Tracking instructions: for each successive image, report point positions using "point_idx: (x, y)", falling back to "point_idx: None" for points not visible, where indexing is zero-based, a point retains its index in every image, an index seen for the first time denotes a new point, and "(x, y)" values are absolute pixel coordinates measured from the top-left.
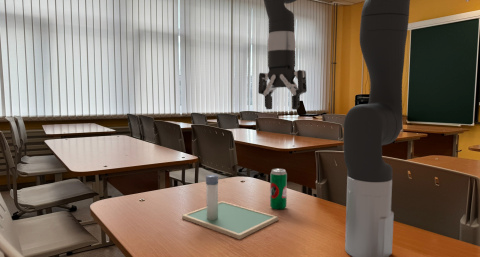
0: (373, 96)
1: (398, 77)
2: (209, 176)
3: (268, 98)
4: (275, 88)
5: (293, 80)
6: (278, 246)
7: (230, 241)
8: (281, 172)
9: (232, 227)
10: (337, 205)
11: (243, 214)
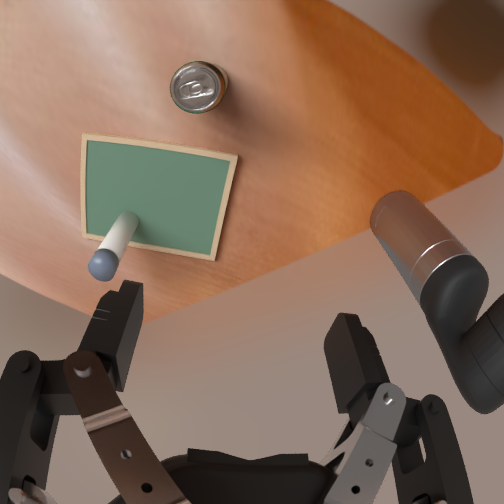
0: None
1: None
2: (99, 274)
3: (125, 372)
4: (136, 427)
5: (372, 500)
6: (278, 251)
7: (206, 267)
8: (213, 102)
9: (185, 238)
10: (337, 11)
11: (165, 175)
